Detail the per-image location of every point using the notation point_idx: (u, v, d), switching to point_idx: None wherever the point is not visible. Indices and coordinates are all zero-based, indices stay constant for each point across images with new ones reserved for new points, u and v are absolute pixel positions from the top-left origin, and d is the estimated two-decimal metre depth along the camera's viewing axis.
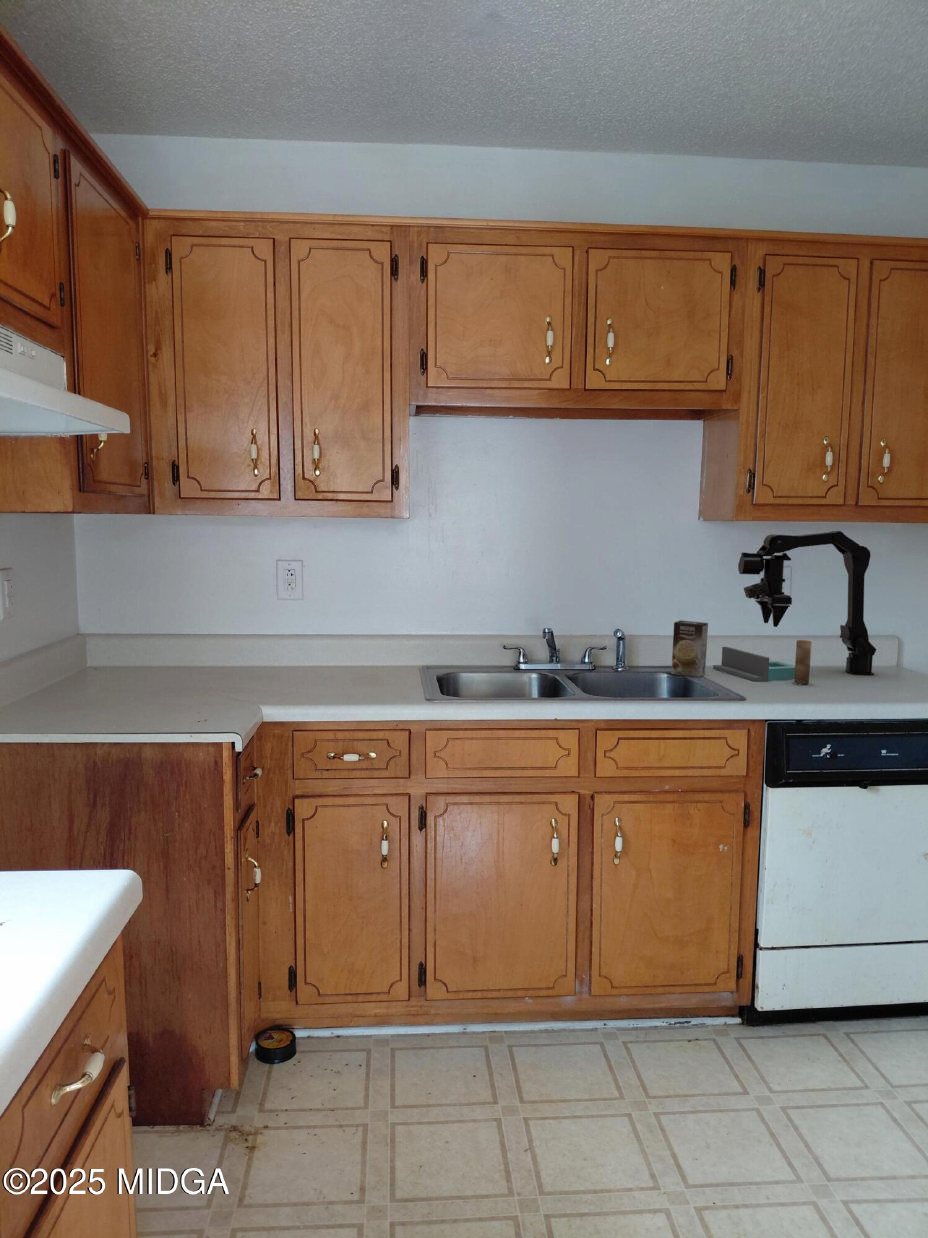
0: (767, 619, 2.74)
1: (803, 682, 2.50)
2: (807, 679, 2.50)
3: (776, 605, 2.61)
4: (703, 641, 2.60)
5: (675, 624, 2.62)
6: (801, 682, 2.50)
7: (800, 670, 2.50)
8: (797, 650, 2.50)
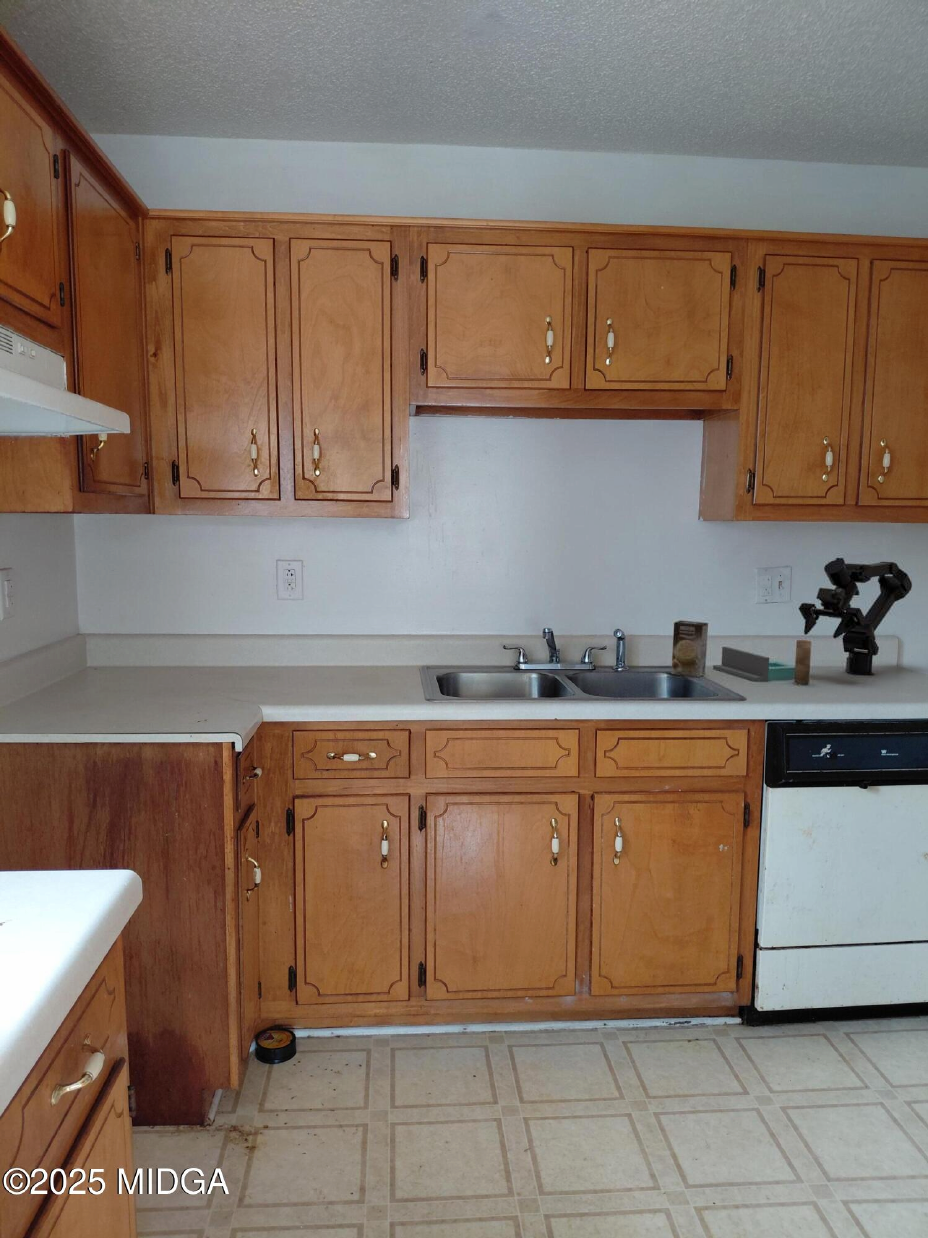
0: (807, 631, 2.59)
1: (803, 682, 2.50)
2: (807, 679, 2.50)
3: (853, 618, 2.51)
4: (703, 641, 2.60)
5: (675, 624, 2.62)
6: (801, 682, 2.50)
7: (800, 670, 2.50)
8: (797, 650, 2.50)
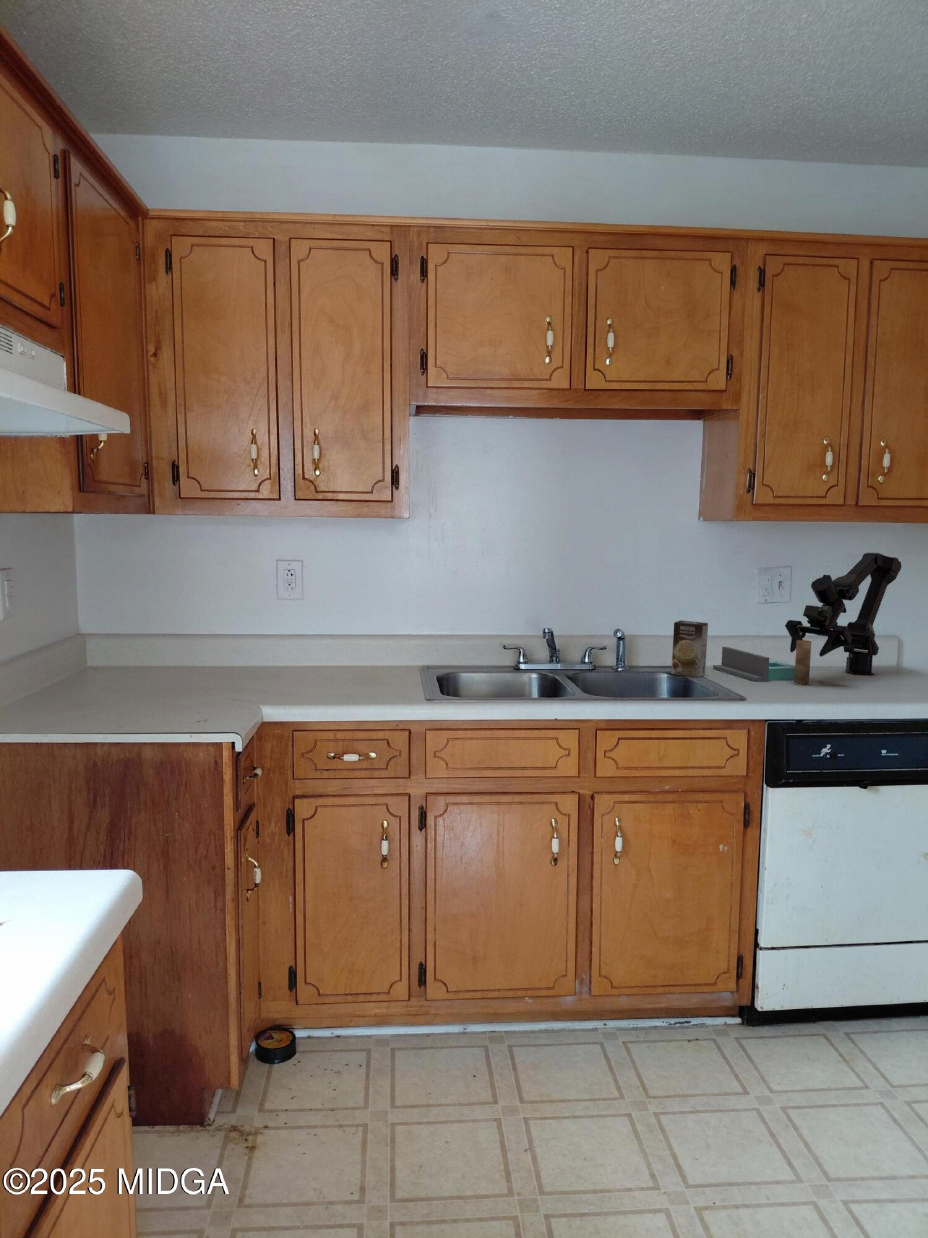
0: (794, 649, 2.56)
1: (803, 682, 2.50)
2: (807, 679, 2.50)
3: (840, 636, 2.47)
4: (703, 641, 2.60)
5: (675, 624, 2.62)
6: (801, 682, 2.50)
7: (800, 670, 2.50)
8: (797, 650, 2.50)
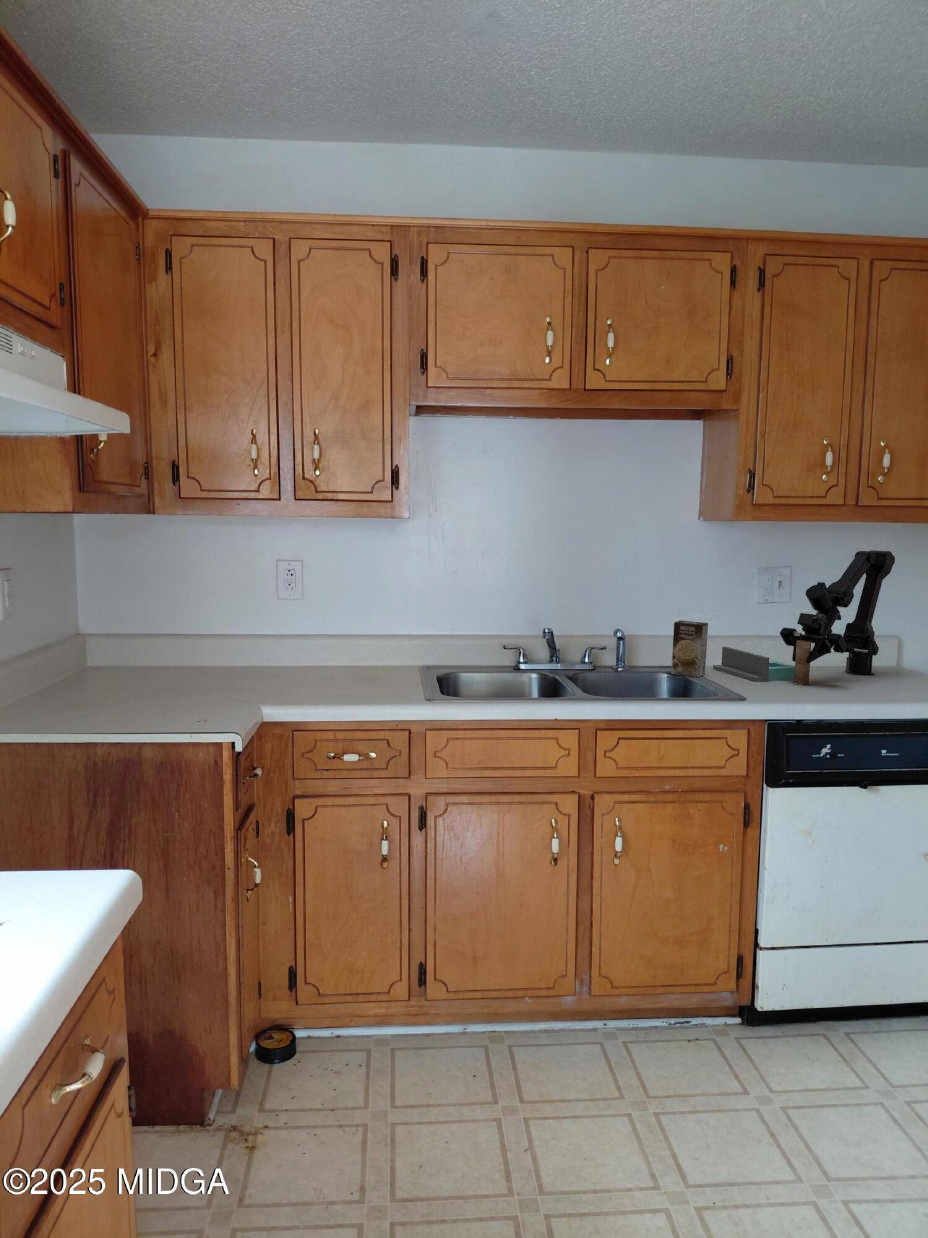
0: None
1: (803, 682, 2.50)
2: (807, 679, 2.50)
3: (826, 643, 2.48)
4: (703, 641, 2.60)
5: (675, 624, 2.62)
6: (801, 682, 2.50)
7: (800, 670, 2.50)
8: (797, 650, 2.50)
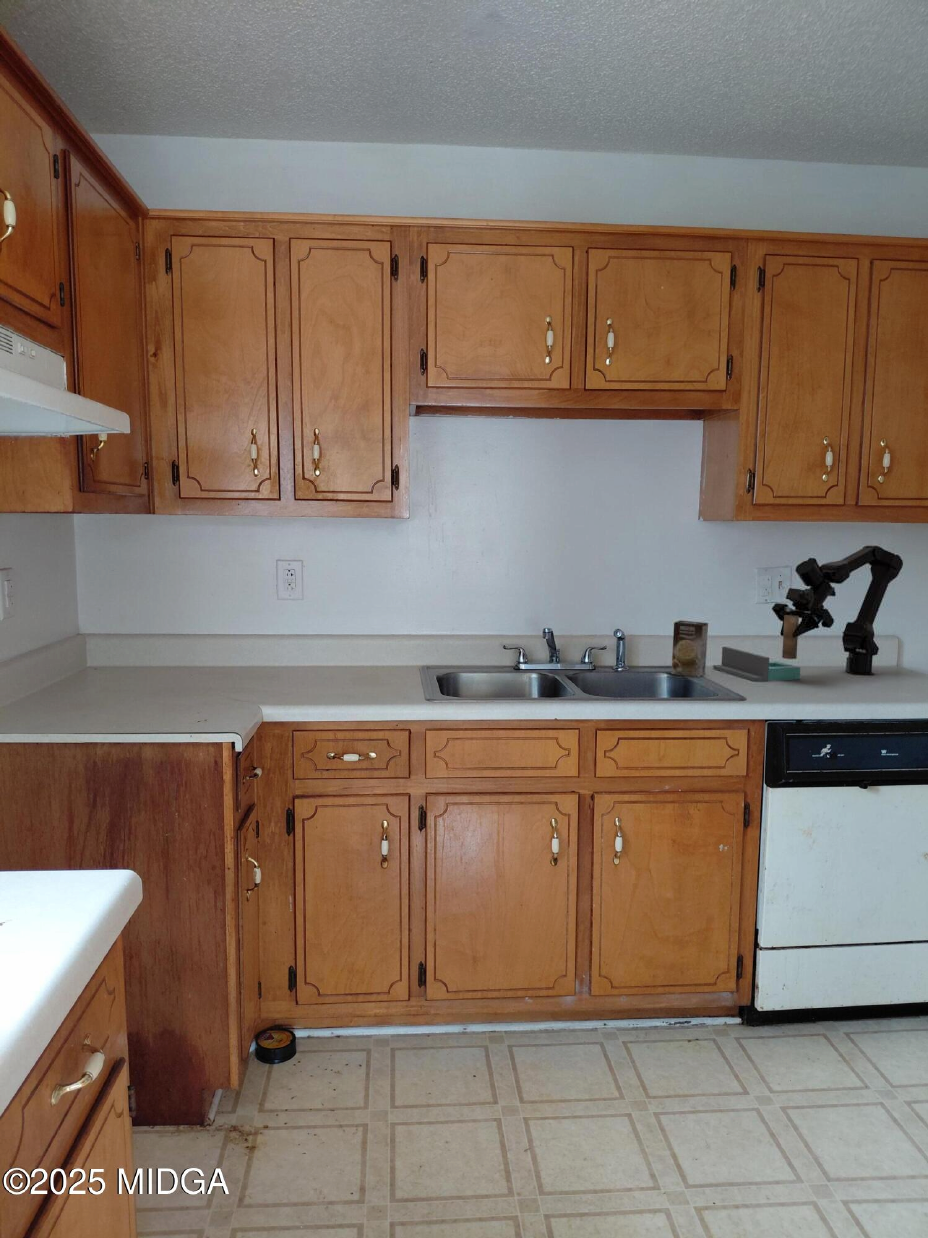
0: None
1: (790, 656, 2.53)
2: (794, 653, 2.53)
3: (813, 618, 2.50)
4: (703, 641, 2.60)
5: (675, 624, 2.62)
6: (788, 656, 2.54)
7: (787, 644, 2.53)
8: (784, 624, 2.54)
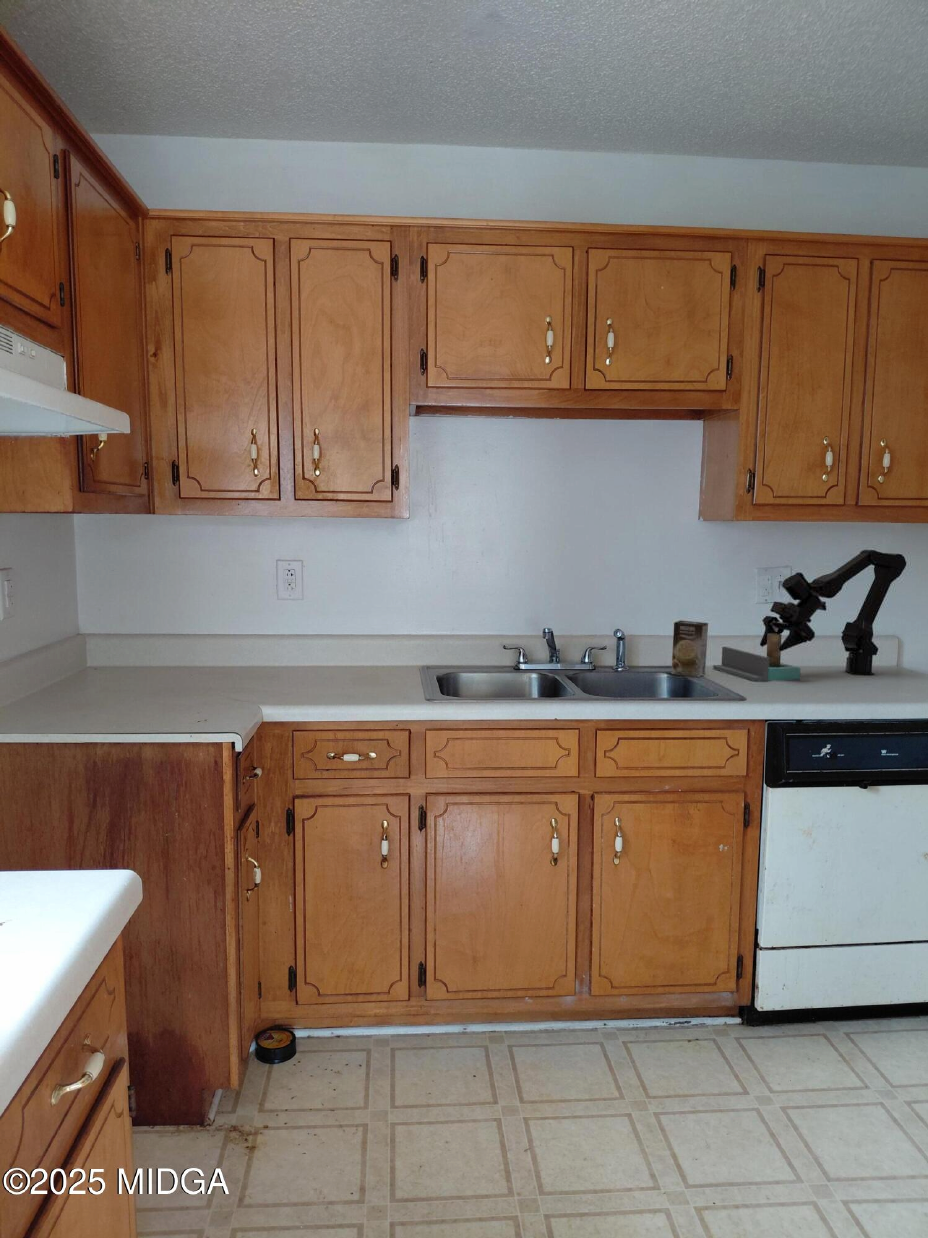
0: (764, 643, 2.66)
1: None
2: None
3: (799, 632, 2.54)
4: (703, 641, 2.60)
5: (675, 624, 2.62)
6: None
7: (769, 662, 2.61)
8: (767, 642, 2.62)
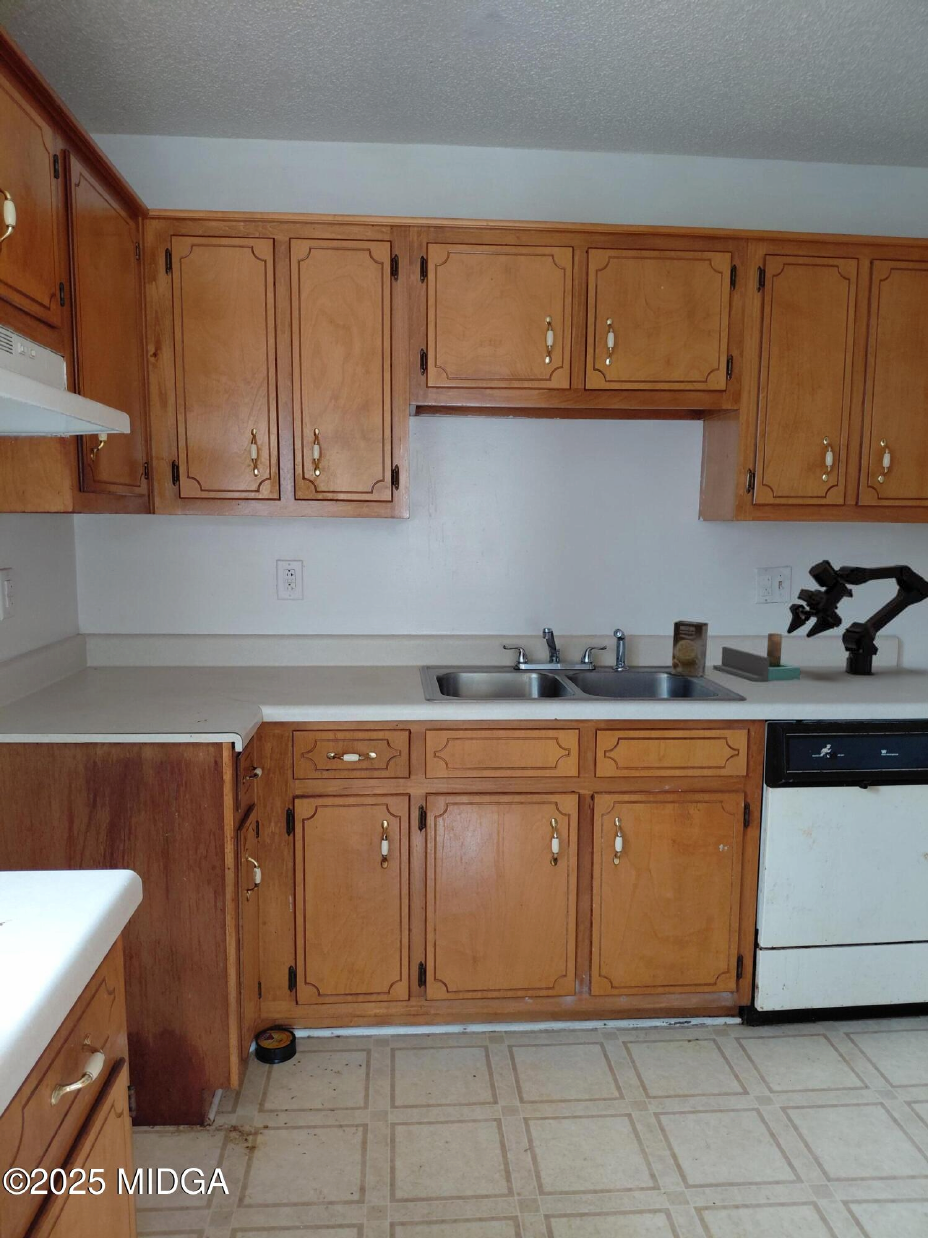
0: (791, 631, 2.68)
1: None
2: None
3: (827, 618, 2.56)
4: (703, 641, 2.60)
5: (675, 624, 2.62)
6: None
7: (769, 662, 2.61)
8: (768, 642, 2.62)
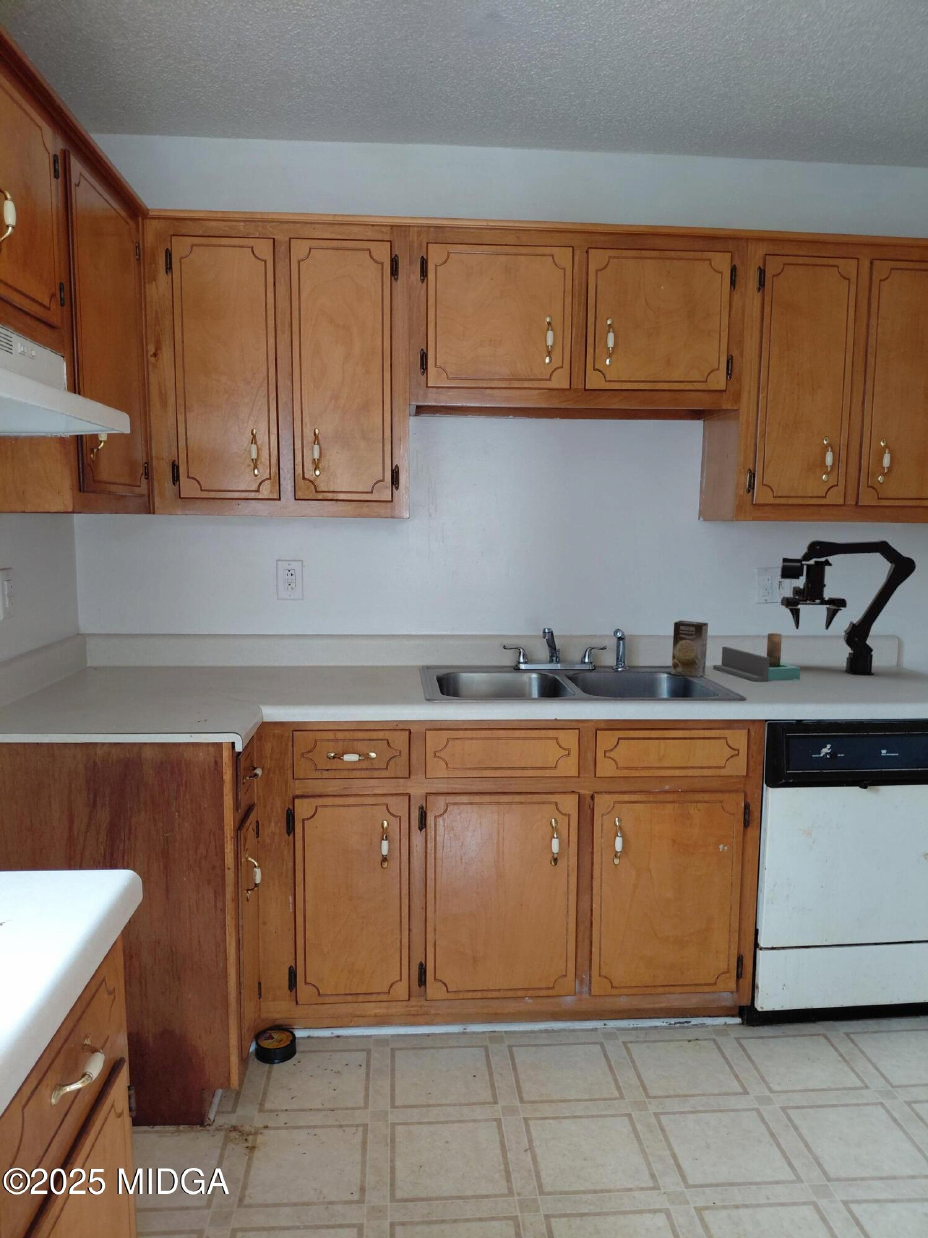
0: (826, 626, 2.73)
1: None
2: None
3: (786, 606, 2.74)
4: (703, 641, 2.60)
5: (675, 624, 2.62)
6: None
7: (769, 662, 2.61)
8: (767, 642, 2.61)
